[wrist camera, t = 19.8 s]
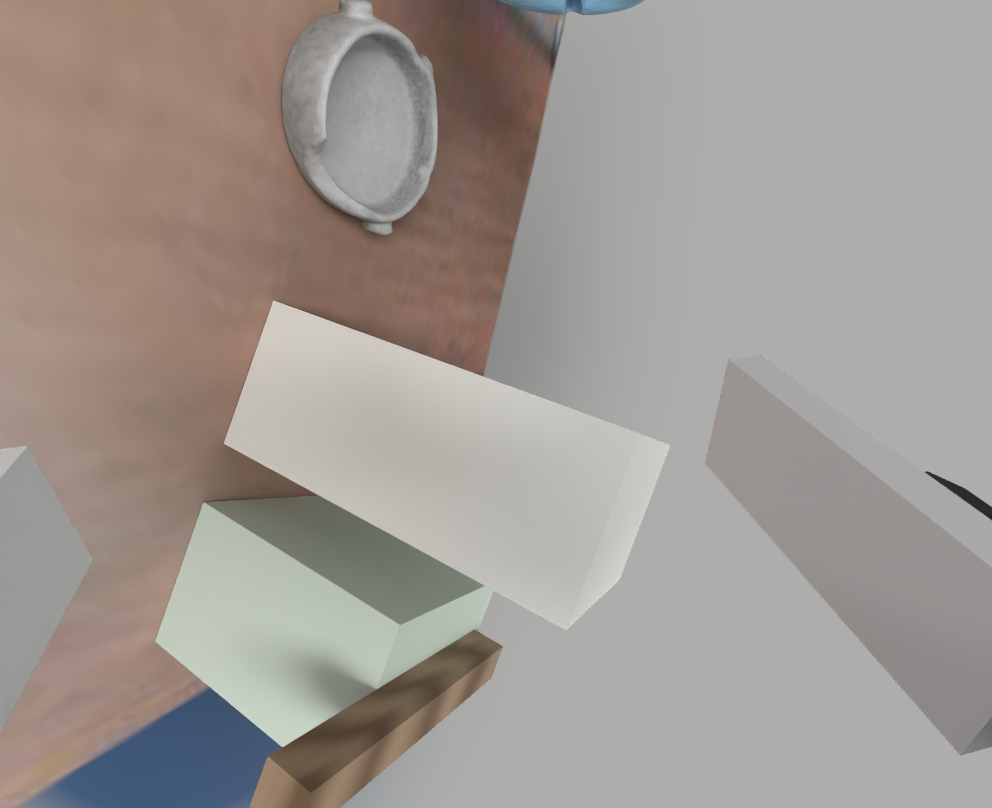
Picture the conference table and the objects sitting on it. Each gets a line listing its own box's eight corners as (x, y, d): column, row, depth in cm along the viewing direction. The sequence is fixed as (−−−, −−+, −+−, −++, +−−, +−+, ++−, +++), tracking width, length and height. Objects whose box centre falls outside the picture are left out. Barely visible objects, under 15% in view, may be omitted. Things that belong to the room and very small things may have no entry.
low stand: (155, 641, 45) (338, 794, 36) (203, 502, 44) (400, 625, 36) (298, 599, 59) (452, 701, 51) (335, 494, 59) (496, 580, 51)
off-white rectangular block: (223, 443, 44) (566, 630, 32) (273, 300, 44) (640, 433, 31) (351, 450, 59) (619, 579, 46) (389, 343, 58) (670, 445, 46)
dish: (361, 239, 50) (405, 251, 48) (239, 150, 37) (291, 161, 35) (420, 91, 50) (466, 97, 48) (318, -48, 38) (375, -48, 36)
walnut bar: (248, 810, 28) (290, 850, 27) (267, 756, 28) (310, 792, 27) (462, 660, 50) (491, 678, 49) (474, 629, 50) (502, 646, 48)
